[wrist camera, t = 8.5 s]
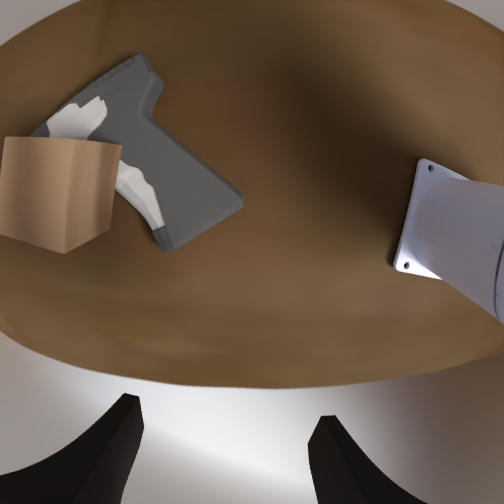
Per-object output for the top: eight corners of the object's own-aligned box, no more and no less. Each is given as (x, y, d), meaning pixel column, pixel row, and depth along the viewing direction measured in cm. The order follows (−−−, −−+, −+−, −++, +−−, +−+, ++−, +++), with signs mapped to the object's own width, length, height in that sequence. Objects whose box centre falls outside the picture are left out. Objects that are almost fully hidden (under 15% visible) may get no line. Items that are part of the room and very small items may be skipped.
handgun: (249, 217, 15) (166, 35, 12) (39, 317, 17) (-18, 184, 14) (249, 210, 18) (175, 50, 15) (55, 304, 20) (1, 181, 16)
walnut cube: (122, 145, 14) (75, 139, 9) (110, 229, 15) (64, 254, 11) (57, 139, 14) (5, 136, 9) (49, 215, 15) (-2, 233, 10)
